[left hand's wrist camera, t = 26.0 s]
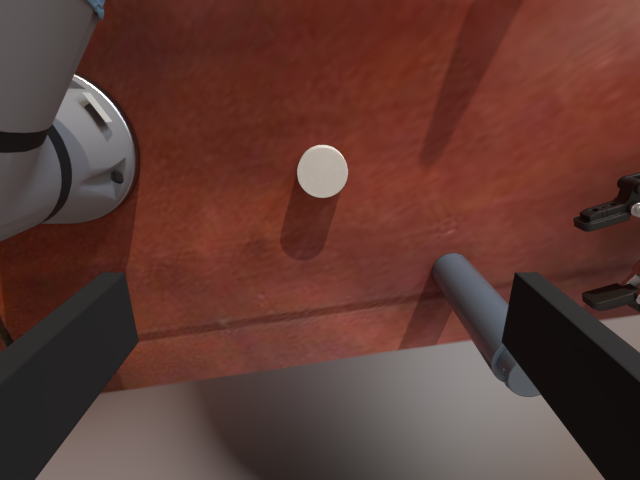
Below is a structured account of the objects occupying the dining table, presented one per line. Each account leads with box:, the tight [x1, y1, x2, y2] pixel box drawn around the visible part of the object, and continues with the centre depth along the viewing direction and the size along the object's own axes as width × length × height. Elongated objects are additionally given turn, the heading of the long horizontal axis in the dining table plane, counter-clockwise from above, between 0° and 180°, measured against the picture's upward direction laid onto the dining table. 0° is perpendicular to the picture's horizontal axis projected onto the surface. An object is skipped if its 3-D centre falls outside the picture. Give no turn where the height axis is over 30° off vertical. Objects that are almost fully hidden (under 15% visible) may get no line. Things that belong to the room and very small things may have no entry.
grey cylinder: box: [432, 253, 541, 397], centre depth 35 cm, size 4×4×18 cm
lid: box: [297, 145, 348, 198], centre depth 39 cm, size 5×5×2 cm
